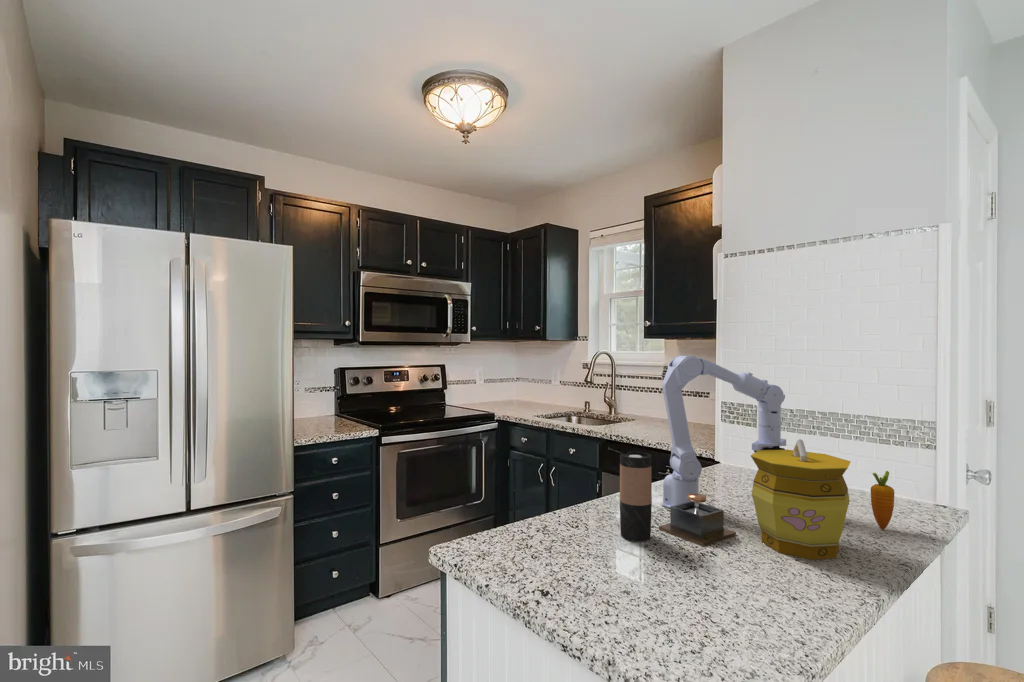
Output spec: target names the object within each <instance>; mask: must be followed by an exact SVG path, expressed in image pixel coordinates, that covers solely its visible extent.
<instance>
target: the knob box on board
mask: <svg viewBox="0 0 1024 682" xmlns="http://www.w3.org/2000/svg"><path fill="white" fill-rule="evenodd" d="M691 508H695V502H693V501H690V502H686V503H682V504H678V505H675V506H671V507H670V508H669V509H670V511H669V512H670V517H669V518H670V519H669V520H670V521H669V523H666V524H662V525H658V530H660V531H662V532H665V533H667V534H668V535H669V534H670V535H672V536H674V537H678V538H680V539H683V540H685V541H687V542H690V543H693V544H696V545H699V546H701V547H706V546H708V545H711V544H715V543H717V542H720V541H723V540H726V539H729V538H732V537H735V536H737V532H736V531H733V530H732V529H728V528H725V524H724V523H725V522H724V521H725V520H724V519H725V510H724V509H722V508H718V507H716V506H714V505H710V504H706V503H705V504H704V503H703V502H699V509H700V510H703V511H706V512H709V513H708V514H704V515H701V516H700V515H697V514H694V513H691V512H688V511H685V510H687V509H691Z"/></svg>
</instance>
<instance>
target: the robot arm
mask: <svg viewBox="0 0 1024 682" xmlns="http://www.w3.org/2000/svg"><path fill="white" fill-rule="evenodd" d="M705 375H708V376H711V377H714V378H717V379H719V380H721V381H723V382H727V383H728V384H731V385H732V388H733V389H734V391H736V392H738V393H741V394H743V395H745V396H748V397H750V398H752V399H753V400H754V399H755V400H756V401H757V402H758V406H757V407H758V408H757V409H758V415H757V416H758V418H757V420H758V421H757V423H758V427H757V429H758V431H757V433H758V437H757V438H758V439H757V440H756V441H754V442H751V450H752V451H753V453H755V452H756V451H758V450H786V449H785V448H784V447H786V446H787V439H786V438H782V437H781V436H782V435H781V434H782V433H781V432H782V431H781V428H782V427H781V426H782V425H781V424H782V423H781V421H782V420H781V411H782V410H781V409H782V403H784V401H785V398H786V394H784V391H783V389H782V388H781V387H780V386H778V385H776V384H770V383H768V380H766V379H760V378H758V377H755V376H753V373H752V372H749V371H747V372H743V371H742V372H740V373H736V372H733V371H731V370H729V369H728V368H726V367H722V366H721V365H719V364H716V363H715V362H712V361H710V360H707V359H704V358H700V357H697V356H695V355H681V354H680V355H677V356H675V357H673V358H672V360H671V361H670V362H668V364H667V371H666V373H665V374H664V378H663V381H662V384H661V387H662V389H661V390H662V393H663V394H662V395H663V399H664V404H665V410H666V415H667V421H668V427H669V432H670V437H671V443H672V445H671V448H670V453H671V454H670V458H669V465H670V468H671V469H672V470H673V471H672V473H670V474H668V475H666V476H665V477H664V480H663V484H662V486H663V487H662V492H663V493H662V494H663V496H662V503H661V506H662V507H665V508H668V509H670V507H671V506H675V505H678V504H682V503H686V502H690V500H688V494H689V493H699V492H700V491H699V477H700V476H701V474H702V470H703V469H702V464H701V462H700V461H699V459H698V458H697V455H696V451H695V449H694V448H693V447H694V446H693V445H692V440H691V435H690V430H689V425H688V419H687V413H686V408H685V402H684V398H683V396H684V395H683V392H682V391H683V389H684V387H686V386H687V384H688V383H689V382H690V381H693V380H695V379H696V378H697V377H699V376H705ZM699 494H700V493H699Z"/></svg>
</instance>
